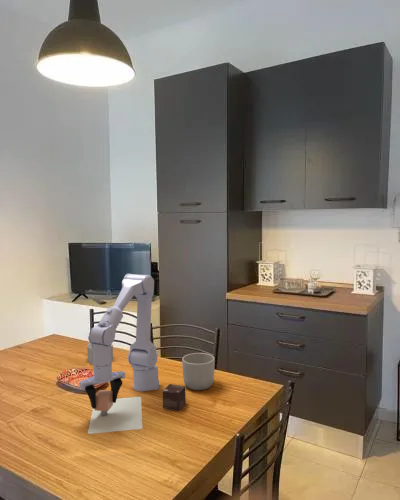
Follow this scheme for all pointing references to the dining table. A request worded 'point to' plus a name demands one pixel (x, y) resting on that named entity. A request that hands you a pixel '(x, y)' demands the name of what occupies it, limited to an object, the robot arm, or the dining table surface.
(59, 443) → the dining table surface
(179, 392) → the box
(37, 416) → the dining table surface
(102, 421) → the board
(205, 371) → the planter
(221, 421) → the dining table surface
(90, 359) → the lumpy-topped squat cylinder
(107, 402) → the peach colored cube
